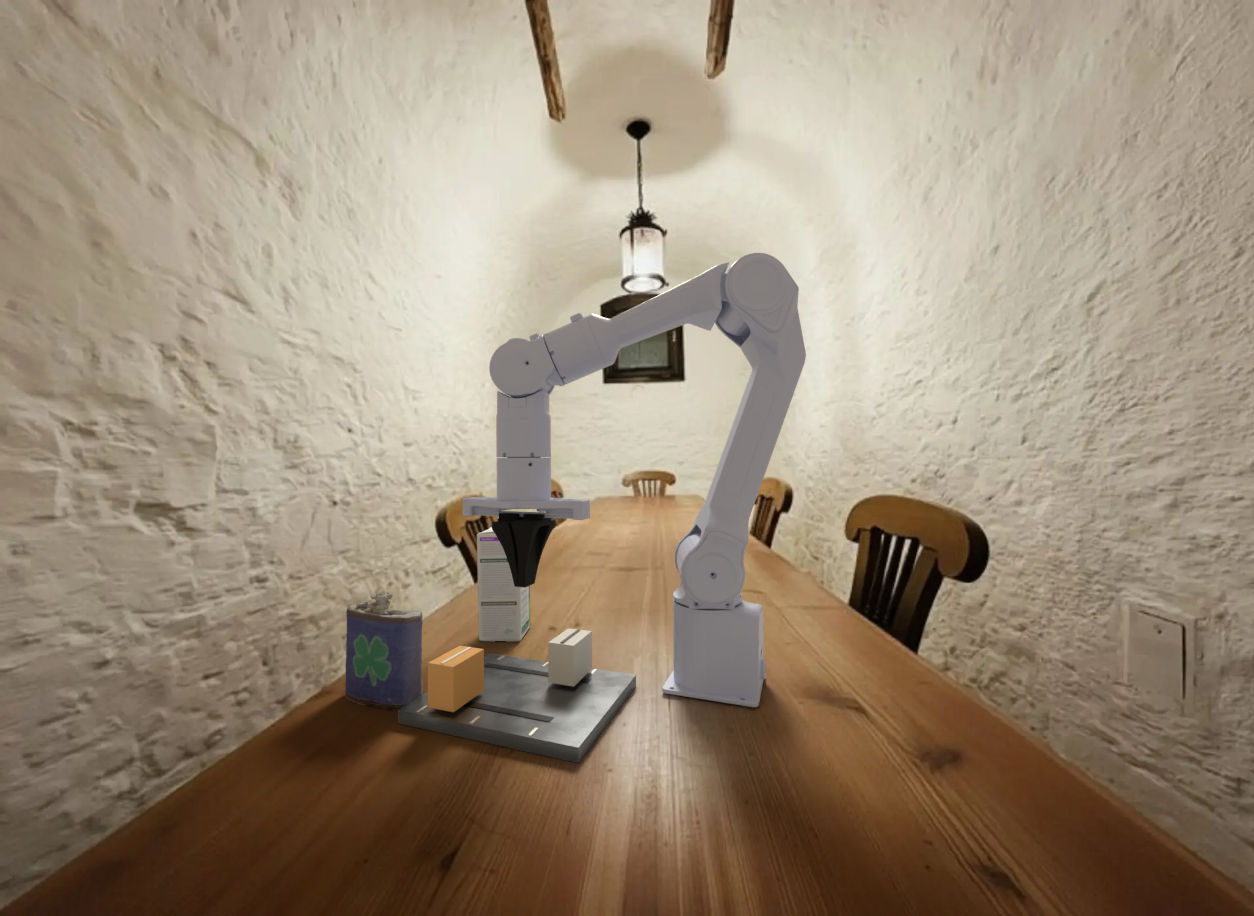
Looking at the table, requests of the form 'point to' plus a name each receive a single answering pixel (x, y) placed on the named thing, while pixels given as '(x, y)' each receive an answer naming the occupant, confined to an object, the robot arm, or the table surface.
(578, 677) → the white fader knob
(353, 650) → the flask
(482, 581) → the syrup box
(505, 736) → the grey slotted tray
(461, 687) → the orange fader
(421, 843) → the table surface
